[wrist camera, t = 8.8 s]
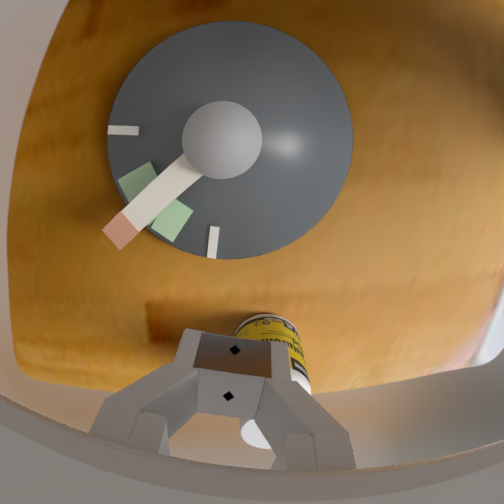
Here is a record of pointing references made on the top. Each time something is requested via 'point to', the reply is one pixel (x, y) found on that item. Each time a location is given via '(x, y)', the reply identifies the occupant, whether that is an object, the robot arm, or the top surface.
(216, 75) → the dial plate
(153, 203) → the needle
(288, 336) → the supplement bottle
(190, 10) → the top surface
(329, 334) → the top surface
